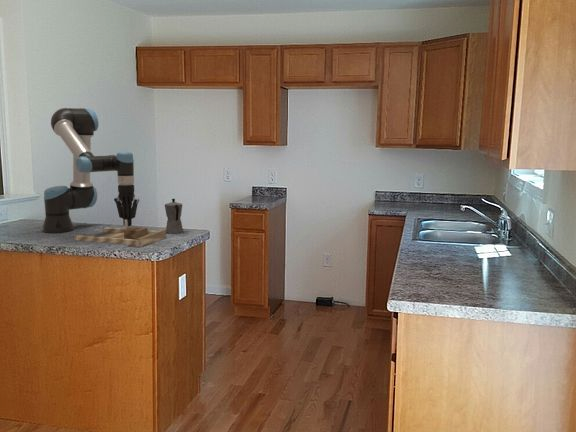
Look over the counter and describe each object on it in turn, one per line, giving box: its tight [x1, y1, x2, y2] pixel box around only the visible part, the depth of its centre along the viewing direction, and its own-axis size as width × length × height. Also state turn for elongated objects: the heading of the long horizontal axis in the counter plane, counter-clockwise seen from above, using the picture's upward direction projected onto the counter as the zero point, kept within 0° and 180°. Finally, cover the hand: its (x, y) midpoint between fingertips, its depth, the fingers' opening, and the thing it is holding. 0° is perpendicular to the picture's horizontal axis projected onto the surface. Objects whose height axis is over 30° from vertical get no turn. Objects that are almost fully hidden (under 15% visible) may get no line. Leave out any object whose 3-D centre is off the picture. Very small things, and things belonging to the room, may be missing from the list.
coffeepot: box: [164, 198, 184, 235], centre depth 279 cm, size 15×9×18 cm, turn 25°
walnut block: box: [124, 226, 148, 240], centre depth 259 cm, size 8×8×5 cm
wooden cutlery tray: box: [74, 227, 167, 248], centre depth 262 cm, size 36×23×4 cm, turn 73°
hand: (127, 232), depth 260 cm, fingers closed
